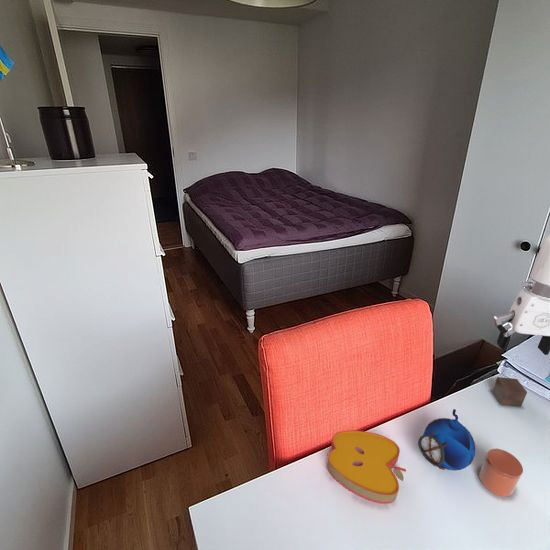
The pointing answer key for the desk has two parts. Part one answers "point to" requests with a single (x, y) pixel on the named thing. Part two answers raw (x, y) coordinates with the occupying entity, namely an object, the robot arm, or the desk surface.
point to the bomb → (447, 444)
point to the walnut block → (509, 392)
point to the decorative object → (366, 465)
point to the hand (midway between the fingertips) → (521, 349)
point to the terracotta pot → (500, 472)
